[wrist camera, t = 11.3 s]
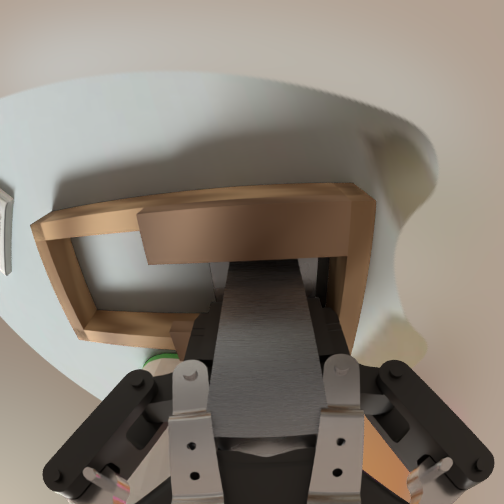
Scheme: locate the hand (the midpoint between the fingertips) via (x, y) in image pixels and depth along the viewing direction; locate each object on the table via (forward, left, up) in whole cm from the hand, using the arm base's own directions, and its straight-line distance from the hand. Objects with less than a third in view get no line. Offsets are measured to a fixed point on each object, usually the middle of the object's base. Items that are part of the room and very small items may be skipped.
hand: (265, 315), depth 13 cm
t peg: (0, 0, -5) cm, 5 cm away
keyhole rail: (-5, 0, -5) cm, 7 cm away
